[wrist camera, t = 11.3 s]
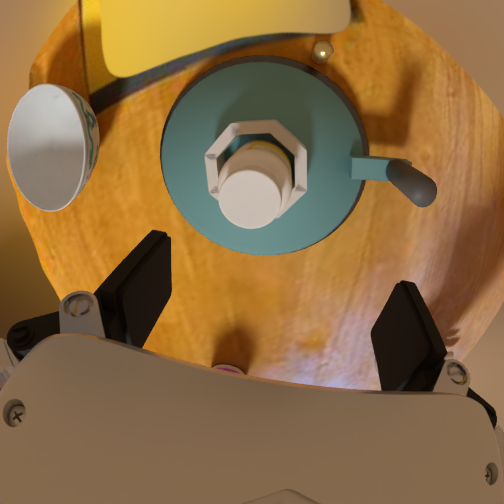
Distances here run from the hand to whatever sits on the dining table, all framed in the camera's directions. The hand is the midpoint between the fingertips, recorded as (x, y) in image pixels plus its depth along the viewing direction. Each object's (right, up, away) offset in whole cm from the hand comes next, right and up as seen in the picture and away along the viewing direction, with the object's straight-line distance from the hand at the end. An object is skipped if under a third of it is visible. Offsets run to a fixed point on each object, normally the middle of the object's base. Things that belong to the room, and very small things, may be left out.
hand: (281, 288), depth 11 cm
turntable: (+2, +10, +15) cm, 19 cm away
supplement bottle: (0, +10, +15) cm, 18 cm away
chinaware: (-23, +16, +17) cm, 33 cm away
